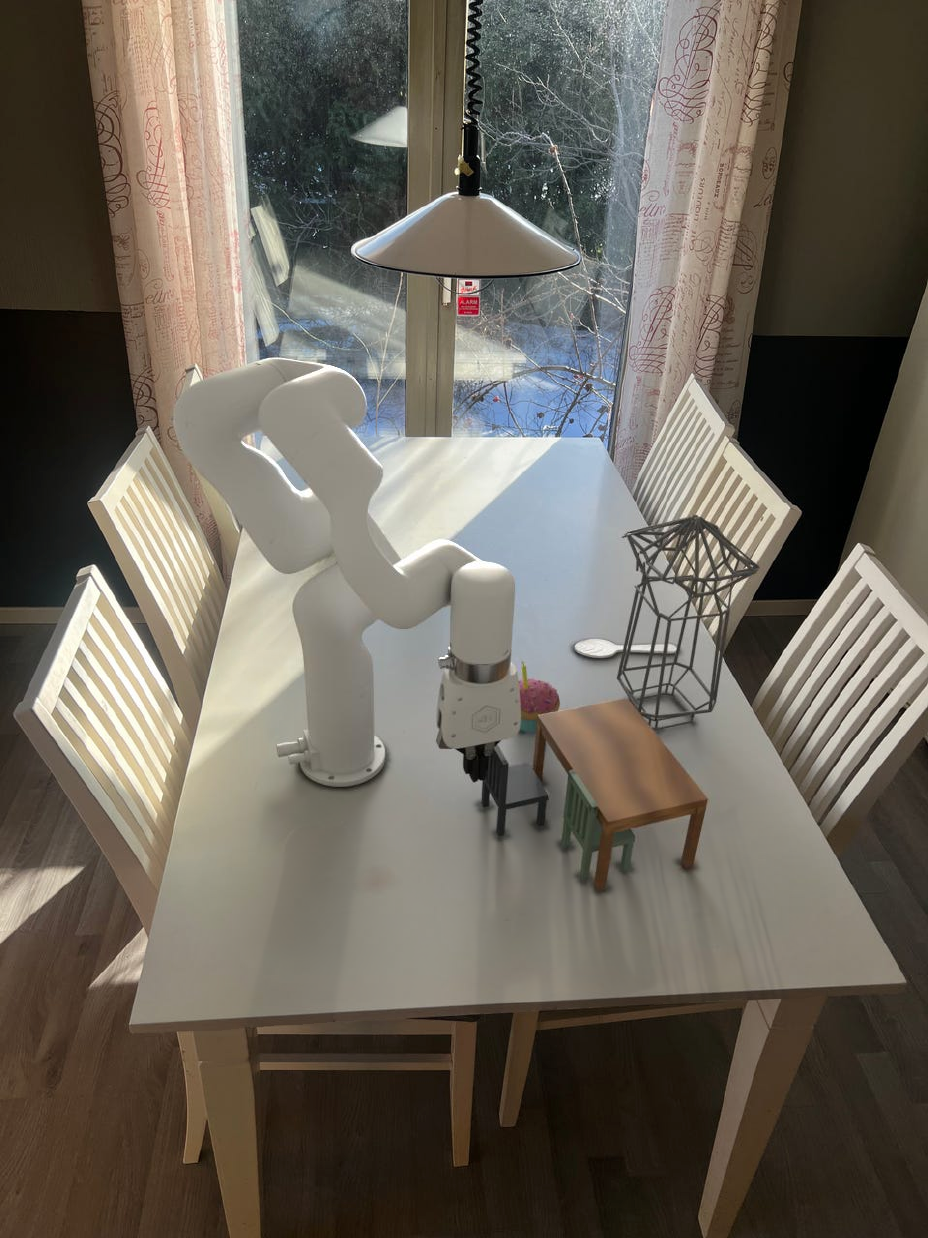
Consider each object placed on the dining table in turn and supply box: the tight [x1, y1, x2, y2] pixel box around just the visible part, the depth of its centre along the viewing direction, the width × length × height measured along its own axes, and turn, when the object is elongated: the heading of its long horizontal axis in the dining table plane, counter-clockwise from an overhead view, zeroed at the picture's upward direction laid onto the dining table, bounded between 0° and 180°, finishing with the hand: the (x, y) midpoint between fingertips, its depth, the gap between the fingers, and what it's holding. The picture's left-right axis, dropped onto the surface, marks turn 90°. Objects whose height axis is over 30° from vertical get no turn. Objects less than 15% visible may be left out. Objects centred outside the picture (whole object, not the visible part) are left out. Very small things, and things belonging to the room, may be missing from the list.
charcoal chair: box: [480, 744, 550, 837], centre depth 134 cm, size 7×7×13 cm
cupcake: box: [519, 660, 561, 733], centre depth 152 cm, size 9×8×12 cm
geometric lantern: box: [616, 513, 761, 731], centre depth 149 cm, size 16×16×35 cm
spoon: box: [574, 638, 677, 659], centre depth 173 cm, size 5×18×1 cm, turn 92°
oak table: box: [532, 697, 709, 892], centre depth 134 cm, size 14×22×12 cm, turn 19°
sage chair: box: [560, 770, 637, 881], centre depth 128 cm, size 7×7×13 cm
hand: (475, 774), depth 131 cm, fingers closed
